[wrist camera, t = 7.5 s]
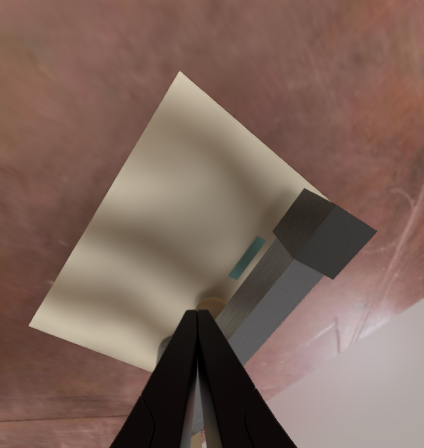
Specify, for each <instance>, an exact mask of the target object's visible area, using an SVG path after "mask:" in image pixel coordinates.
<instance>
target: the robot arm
mask: <svg viewBox="0 0 424 448" xmlns="http://www.w3.org/2000/svg"><path fill="white" fill-rule="evenodd" d="M197 359H198V380H199V388H200V396H201V404H202V412H203V420H204V428H205V437H206V445H207V448H297V447H296V445H295V444H294V442H293V441H292V440H291V439H290V437H289V436H288V434H287V433H286V432H285V430H284V429H283V428H282V426H281V425H280V423H279V422H278V421H277V419H276V418H275V416H274V415H273V413H272V412H271V410H270V409H269V407H268V406H267V404H266V403H265V401H264V399H263V398H262V396H261V395H260V393H259V391H258V390H257V389H256V388H255V385H254V383H253V382H252V380H251V378H250V377H249V375H248V374H247V372H246V370H245V369H244V367H243V365H242V364H241V362H240V360H239V359H238V357H237V356H236V354H235V352H234V351H233V349H232V347H231V346H230V344H229V343H228V341H227V339H226V338H225V336H224V334H223V333H222V331H221V329H220V328H219V326H218V325H217V323H216V321H215V320H214V318H213V316H212V315H211V313H210V312H209V310H208V309H198V310H196V309H192V310H186V311H185V313H184V315H183V317H182V319H181V320H180V322H179V324H178V326H177V328H176V330H175V332H174V333H173V335H172V337H171V339H170V341H169V343H168V345H167V346H166V348H165V350H164V352H163V354H162V356H161V357H160V359H159V361H158V363H157V365H156V367H155V369H154V370H153V372H152V374H151V376H150V378H149V380H148V382H147V383H146V385H145V387H144V389H143V391H142V393H141V396H139V398H138V400H137V402H136V404H135V405H134V407H133V409H132V411H131V413H130V414H129V416H128V418H127V420H126V421H125V423H124V425H123V427H122V428H121V430H120V432H119V433H118V435H117V436H116V438H115V440H114V441H113V443H112V444H111V446H110V447H109V448H190V446H191V436H192V425H193V415H194V405H195V395H196V384H197Z"/></svg>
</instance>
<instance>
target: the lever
mask: <svg viewBox="0 0 424 448" xmlns="http://www.w3.org/2000/svg"><path fill="white" fill-rule="evenodd" d="M272 232H273V233H274V235H275V236H276V237H277V238H276V239H275V240H274V242H273V243H272V244H271V246H270V247H269V248H268V250H267V251H266V252H265V254H264V255H263V256H262V258H261V259H260V260H259V262H258V263H257V264H256V266H255V267H254V268H253V270H252V271H251V272H250V274H249V275H248V276H247V278H246V279H245V280H244V282H243V283H242V284H241V286H240V287H239V288H238V290H237V291H236V292H235V294H234V295H233V296H232V298H231V299H230V300H229V302H228V303H227V304H226V306H225V307H224V308H223V310H222V311H221V312H220V314H219V315H218V316H217V318H216V319H215V321H216V323H217V325H218V326H219V328H220V329H221V331H222V333H223V334H224V336H225V338H226V339H227V341H228V343H229V344H230V346H231V347H232V349H233V351H234V352H235V354H236V356H237V357H238V359H239V360H240V362H241V364H242V365H243V366H244V365H245V364H246V363H247V361H248V360H249V359H250V358H251V357H252V356H253V355H254V354H255V352H256V351H257V350H258V349H259V348H260V347H261V346H262V345H263V343H264V342H265V341H266V340H267V339H268V338H269V337H270V336H271V334H272V333H273V332H274V331H275V330H276V329H277V328H278V327H279V325H280V324H281V323H282V322H283V321H284V320H285V319H286V318H287V316H288V315H289V314H290V313H291V312H292V311H293V310H294V309H295V307H296V306H297V305H298V304H299V303H300V302H301V301H302V300H303V298H304V297H305V296H306V295H307V294H308V293H309V292H310V291H311V289H312V288H313V287H314V286H315V285H316V284H317V283H318V282H319V280H320V279H321V278H322V277H323V276H324V275H325V276H327V277H329V278H331V279H334V278H335V277H336V276H337V275H338V274H339V273H340V272H341V271H342V269H343V268H344V267H345V266H346V265H347V264H348V263H349V262H350V261H351V260H352V258H353V257H354V256H355V255H356V254H357V253H358V252H359V251H360V250H361V249H362V248H363V246H364V245H365V244H366V243H367V242H368V241H369V240H370V239H371V238H372V237H373V236H374V234H375V233H376V232H377V231H376V230H374V229H373V228H371V227H370V226H368V225H367V224H365V223H364V222H362V221H361V220H359V219H358V218H356V217H354V216H353V215H351V214H350V213H348V212H347V211H345V210H344V209H342V208H341V207H339V206H338V205H336V204H334V203H332V202H330V201H328V200H326V199H325V198H323V197H321V196H319V195H317V194H315V193H313V192H311V191H309V190H308V189H306V188H304V189H303V190H302V192H301V193H300V194H299V196H298V197H297V198H296V200H295V201H294V202H293V204H292V205H291V207H290V208H289V209H288V211H287V212H286V213H285V215H284V216H283V217H282V219H281V220H280V221H279V223H278V224H277V226H276V227H275V228H274V230H273V231H272ZM170 339H171V337H170V338H167V339H166V340H164V341H163V342H162V343H161V344H160V346H159V348H158V353H157V359H156V365H157V363H158V361H159V359H160V357H161V356H162V354H163V352H164V350H165V348H166V346H167V345H168V343H169V341H170ZM155 367H156V366H155ZM203 427H204V420H203V412H202V404H201V396H200V388H199V380H198V359H197V384H196V395H195V405H194V415H193V425H192V436H194V435H196V434H197V433H199V432H200V431H201V430H202V429H203ZM192 436H191V437H192Z"/></svg>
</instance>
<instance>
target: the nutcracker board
mask: <svg viewBox="0 0 424 448" xmlns="http://www.w3.org/2000/svg"><path fill="white" fill-rule="evenodd" d="M304 188H306V189H308V190H309V191H311V192H313V193H315V194H317V195H319V196H321V197H323V198H325V199H326V200H328V199H327V198H326V197H325V196H324V195H322V194H321V193H320V192H319V191H318V190H317V189H316V188H314V187H313V186H312V185H311V184H310V183H309V182H307V181H306V180H305V179H304V178H303V177H302V176H300V175H299V174H298V173H297V172H296V171H295V170H294V169H292V168H291V167H290V166H289V165H288V164H287V163H285V162H284V161H283V160H282V159H281V158H280V157H279V156H277V155H276V154H275V153H274V152H273V151H272V150H270V149H269V148H268V147H267V146H266V145H265V144H263V143H262V142H261V141H260V140H259V139H258V138H257V137H255V136H254V135H253V134H252V133H251V132H250V131H248V130H247V129H246V128H245V127H244V126H243V125H241V124H240V123H239V122H238V121H237V120H236V119H235V118H233V117H232V116H231V115H230V114H229V113H228V112H226V111H225V110H224V109H223V108H222V107H221V106H219V105H218V104H217V103H216V102H215V101H214V100H213V99H211V98H210V97H209V96H208V95H207V94H206V93H204V92H203V91H202V90H201V89H200V88H199V87H197V86H196V85H195V84H194V83H193V82H192V81H191V80H189V79H188V78H187V77H186V76H185V75H184V74H182V73H181V72H180V71H179V73H178V75H177V76H176V78H175V80H174V81H173V83H172V85H171V86H170V88H169V90H168V91H167V93H166V95H165V96H164V98H163V100H162V102H161V103H160V105H159V107H158V108H157V110H156V112H155V113H154V115H153V117H152V118H151V120H150V122H149V123H148V125H147V127H146V129H145V130H144V132H143V134H142V135H141V137H140V139H139V140H138V142H137V144H136V145H135V147H134V149H133V150H132V152H131V154H130V156H129V157H128V159H127V161H126V162H125V164H124V166H123V167H122V169H121V171H120V172H119V174H118V176H117V177H116V179H115V181H114V183H113V184H112V186H111V188H110V189H109V191H108V193H107V194H106V196H105V198H104V199H103V201H102V203H101V204H100V206H99V208H98V209H97V211H96V213H95V215H94V216H93V218H92V220H91V221H90V223H89V225H88V226H87V228H86V230H85V231H84V233H83V235H82V236H81V238H80V240H79V242H78V243H77V245H76V247H75V248H74V250H73V252H72V253H71V255H70V257H69V258H68V260H67V262H66V263H65V265H64V267H63V269H62V270H61V272H60V274H59V275H58V277H57V279H56V280H55V282H54V284H53V285H52V287H51V289H50V290H49V292H48V294H47V296H46V297H45V299H44V301H43V302H42V304H41V306H40V307H39V309H38V311H37V312H36V314H35V316H34V317H33V319H32V321H31V323H30V324H29V326H30V327H33V328H35V329H38V330H41V331H43V332H46V333H49V334H51V335H54V336H57V337H59V338H62V339H65V340H67V341H70V342H73V343H75V344H78V345H81V346H83V347H86V348H89V349H91V350H94V351H97V352H99V353H102V354H105V355H107V356H110V357H113V358H115V359H118V360H121V361H123V362H126V363H129V364H131V365H134V366H137V367H139V368H142V369H145V370H147V371H150V372H153V370H154V369H155V366H156V359H157V353H158V348H159V346H160V344H161V343H162V342H163V341H164V340H166V339H167V338H170V337H172V335H173V333H174V332H175V330H176V328H177V326H178V324H179V322H180V320H181V319H182V317H183V315H184V313H185V311H186V310H192V309H196V310H198V309H208V310H209V312H210V313H211V315H212V316H213V318H214V320H215V319H216V318H217V316H218V315H219V314H220V312H221V311H222V310H223V308H224V307H225V306H226V304H227V303H228V302H229V300H230V299H231V298H232V296H233V295H234V294H235V292H236V291H237V290H238V288H239V287H240V286H241V284H242V283H243V282H244V280H245V279H246V278H247V276H248V275H249V274H250V272H251V271H252V270H253V268H254V267H255V266H256V264H257V263H258V262H259V260H260V259H261V258H262V256H263V255H264V254H265V252H266V251H267V250H268V248H269V247H270V246H271V244H272V243H273V242H274V240H275V239H276V238H277V237H276V236H275V235H274V233H273V232H272V231H273V230H274V228H275V227H276V226H277V224H278V223H279V221H280V220H281V219H282V217H283V216H284V215H285V213H286V212H287V211H288V209H289V208H290V207H291V205H292V204H293V202H294V201H295V200H296V198H297V197H298V196H299V194H300V193H301V192H302V190H303V189H304ZM328 201H329V200H328ZM330 202H331V201H330Z"/></svg>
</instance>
